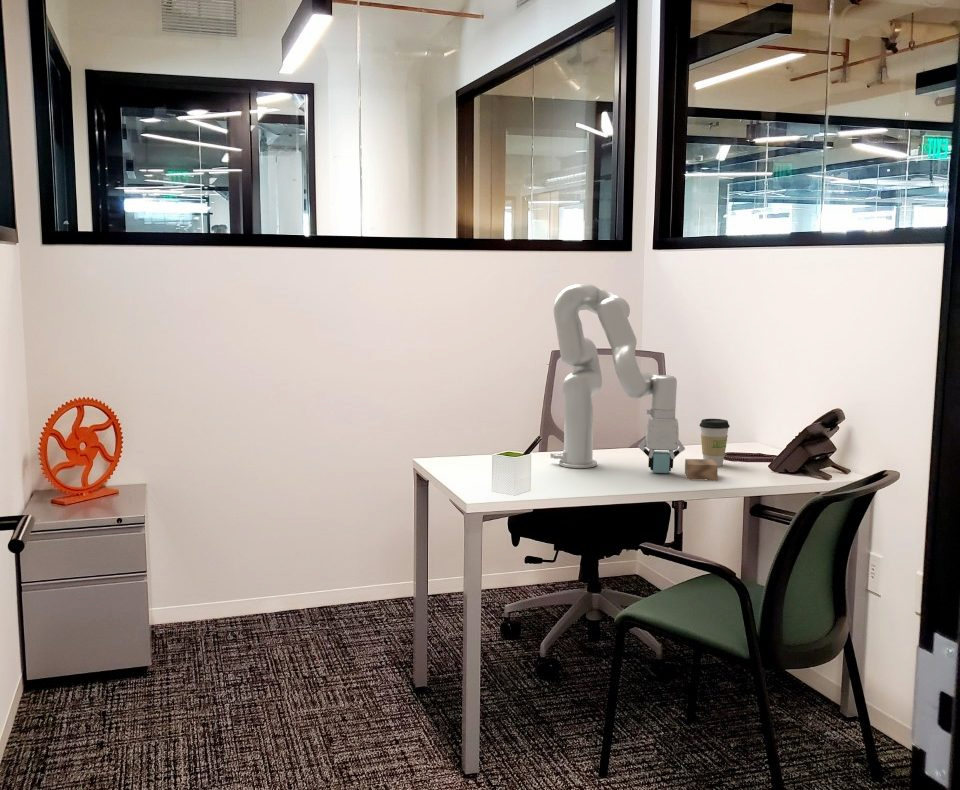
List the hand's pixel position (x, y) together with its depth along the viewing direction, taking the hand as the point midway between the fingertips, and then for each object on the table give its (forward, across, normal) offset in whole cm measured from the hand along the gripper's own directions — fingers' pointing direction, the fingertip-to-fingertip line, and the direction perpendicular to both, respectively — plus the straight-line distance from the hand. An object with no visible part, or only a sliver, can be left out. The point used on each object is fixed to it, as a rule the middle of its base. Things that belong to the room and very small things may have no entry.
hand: (660, 469), depth 297 cm
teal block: (+1, 0, 0) cm, 1 cm away
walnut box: (+1, +12, -4) cm, 13 cm away
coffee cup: (+1, +19, +15) cm, 24 cm away
